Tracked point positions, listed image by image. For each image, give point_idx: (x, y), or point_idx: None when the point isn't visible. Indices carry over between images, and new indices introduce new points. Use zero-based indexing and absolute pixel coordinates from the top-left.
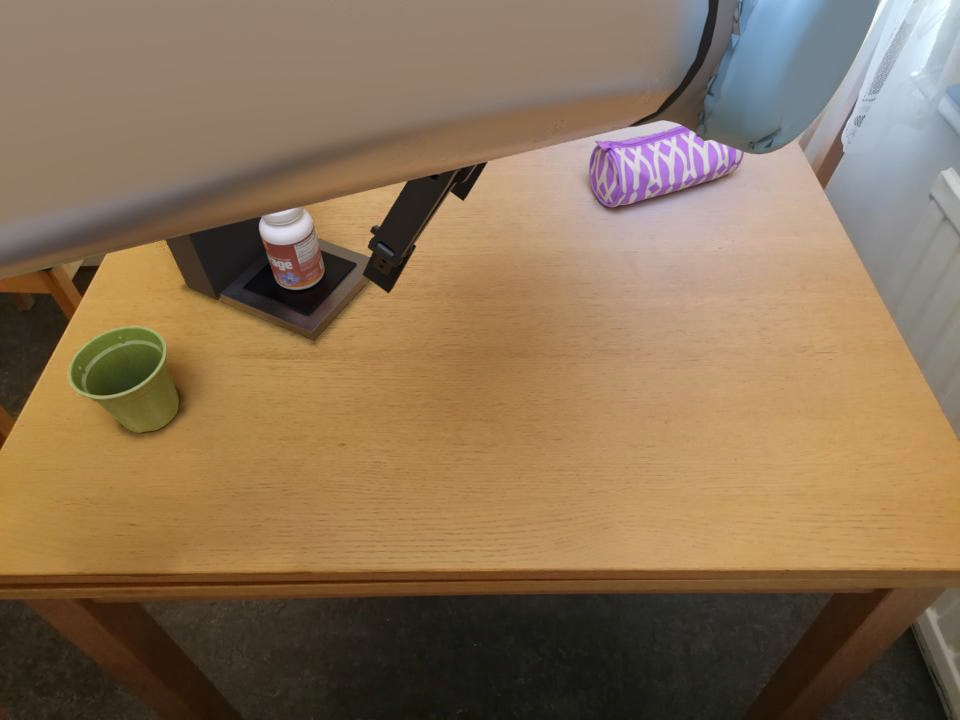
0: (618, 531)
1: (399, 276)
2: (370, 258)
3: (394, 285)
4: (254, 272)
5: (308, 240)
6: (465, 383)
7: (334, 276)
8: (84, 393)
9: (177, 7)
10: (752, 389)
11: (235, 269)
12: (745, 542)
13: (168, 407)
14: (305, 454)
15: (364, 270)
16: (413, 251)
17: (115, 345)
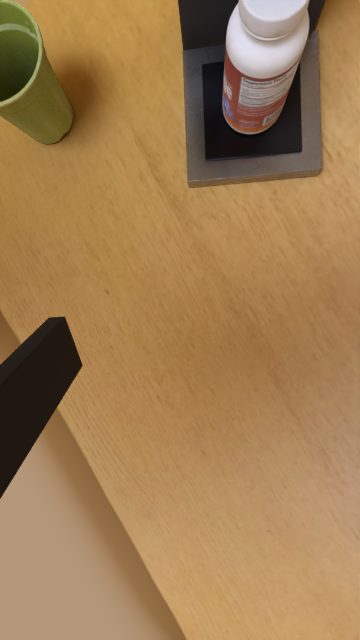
0: (150, 526)
1: (64, 394)
2: (13, 353)
3: (78, 371)
4: None
5: (263, 85)
6: (217, 350)
7: (269, 143)
8: None
9: None
10: (346, 593)
11: (220, 32)
12: (190, 613)
13: (42, 134)
14: (84, 270)
15: (41, 325)
16: (7, 486)
17: (24, 27)
